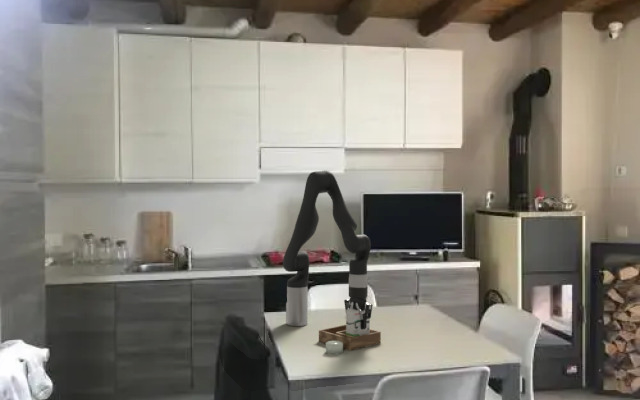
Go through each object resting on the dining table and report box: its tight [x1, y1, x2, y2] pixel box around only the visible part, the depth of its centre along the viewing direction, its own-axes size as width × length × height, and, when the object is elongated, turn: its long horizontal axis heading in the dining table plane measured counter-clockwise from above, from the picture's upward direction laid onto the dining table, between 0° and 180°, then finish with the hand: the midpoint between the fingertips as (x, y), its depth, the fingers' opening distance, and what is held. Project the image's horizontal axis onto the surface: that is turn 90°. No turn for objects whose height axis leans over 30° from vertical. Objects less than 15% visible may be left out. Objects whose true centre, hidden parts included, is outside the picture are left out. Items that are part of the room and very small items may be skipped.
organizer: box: [318, 324, 382, 352], centre depth 230 cm, size 18×17×4 cm
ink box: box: [345, 308, 371, 337], centre depth 228 cm, size 9×5×12 cm, turn 123°
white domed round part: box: [325, 341, 344, 355], centre depth 217 cm, size 6×6×4 cm
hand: (358, 327), depth 228 cm, fingers closed on ink box, 5 cm apart
